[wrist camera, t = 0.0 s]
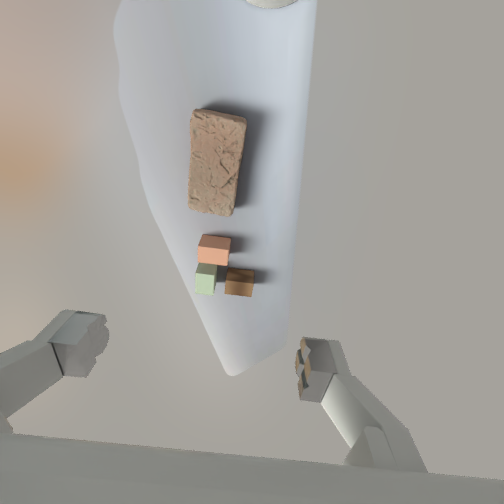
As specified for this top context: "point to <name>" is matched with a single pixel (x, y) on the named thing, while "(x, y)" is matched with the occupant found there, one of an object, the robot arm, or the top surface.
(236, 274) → the walnut block
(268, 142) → the top surface
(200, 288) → the sage block
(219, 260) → the terracotta block
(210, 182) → the brick
